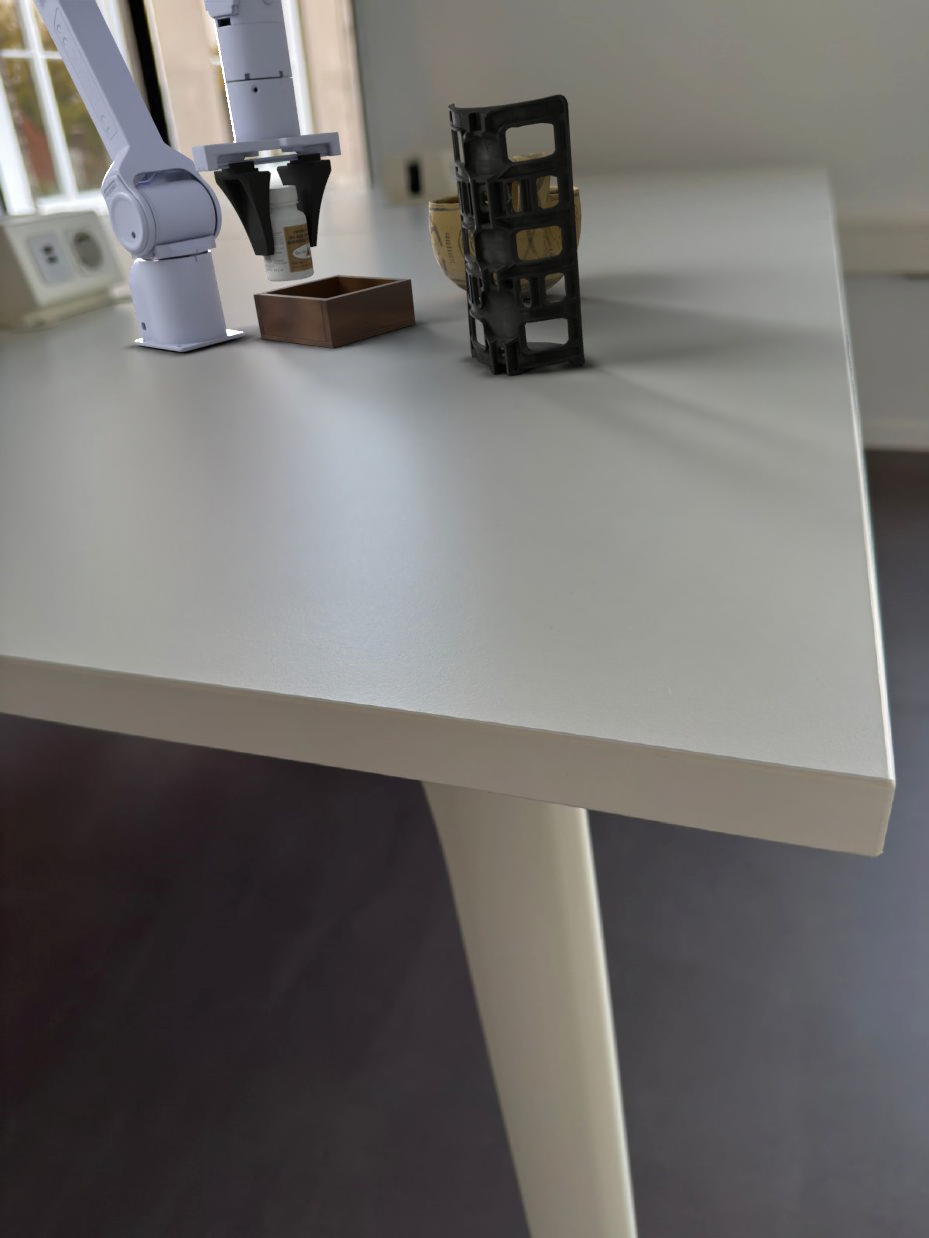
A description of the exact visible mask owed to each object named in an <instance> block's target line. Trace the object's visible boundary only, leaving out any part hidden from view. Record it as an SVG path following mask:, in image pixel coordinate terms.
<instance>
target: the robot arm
mask: <svg viewBox="0 0 929 1238" xmlns="http://www.w3.org/2000/svg"><path fill="white" fill-rule="evenodd" d="M32 1H33V3H34V5H35V7H36V9H37V11H38V14H39V15H40V17H41V19H42V21H43V23H44V25H45V27H46V30H47V32H48V33H49V36H50V37H51V40H52V42H53V43H54V45H55V48H56V50H57V52H58V53H59V56H60V58H61V61H62V62H63V64H64V66H65V68H66V71H67V73H68V74H69V76H70V78H71V80H72V82H73V84H74V86H75V88H76V91H77V92H78V94H79V96H80V99H81V100H82V103H83V104H84V106H85V108H86V111H87V112H88V114H89V117H90V118H91V121H92V123H93V124H94V125H93V126H94V127H95V128H96V131H97V134H98V135H99V137H100V139H101V141H102V143H103V146H104V147H105V150H106V151H107V153H108V156H109V157H110V160H111V162H112V164H111V165H110V167H109V169H108V170H107V172H106V174H105V175H104V177H103V180H102V183H101V187H100V193H101V195H102V197H103V200H104V202H105V204H106V207H107V211H108V215H109V221H110V222H109V223H110V225H111V228H112V231H113V233H114V235H115V237H116V239H117V240H118V242H119V243H120V244H121V246H122V247H123V248H124V249H125V250H126V251H127V252H128V253H130V256H131V258H132V259H133V260H134V259H135V260H134V262H133V264H132V265H131V267H130V270H129V273H128V287H129V291H130V296H131V300H132V305H133V307H134V308H133V309H134V312H135V316H136V320H137V324H138V329H139V334H140V338H139V339H135V340H134V344H135V346H141V347H148V348H154V349H161V350H166V351H167V350H168V351H173V352H180V353H184V352H189V351H193V350H196V349H197V350H198V349H200V348H204V347H207V346H211V345H215V344H218V343H223V342H228V341H231V340H235V339H238V338H241V337H245V331H242V330H235V329H227V325H226V324H227V323H226V320H225V315H224V309H223V305H222V300H221V293H220V289H219V284H218V280H217V279H218V278H217V274H216V269H215V264H214V258H213V254H212V250H213V249H216V248H217V243H216V239H217V238H218V237H219V235H220V233H221V231H222V230H221V229H222V224H223V223H222V222H223V215H222V214H223V213H222V208H221V203H220V201H219V199H218V196H217V194H216V192H215V190H214V189H213V187H212V186H211V185H210V184H209V183H208V182H207V181H206V180H205V179H204V178H203V177H202V175H201V174H200V173H201V172H213V175H214V181H215V184H216V185H217V186H218V187H219V189H220V190H221V191H222V192H223V194H224V196H225V197H226V198H227V200H228V201H229V203H230V204H231V207H233V209H234V211H235V213H236V214H237V216H238V218H239V220H240V222H241V224H242V226H243V228H244V231H245V233H246V236H247V238H248V240H249V243H250V245H251V248H252V250H253V252H254V255H255V256H260V257H261V256H262V257H263V256H270V255H274V238H273V232H272V225H271V218H270V202H269V194H270V187H271V179H272V178H271V177H272V172H270V170H260V169H259V167H256V166H259V165H268V164H274V163H275V164H276V163H284V162H287V163H286V164H284V165H278V166H277V167H276V169H275V170H276V172H277V174H278V177H279V179H280V181H281V184H282V186H286V185H294V186H296V191H297V197H298V199H297V201H298V203H297V204H296V206H297V210H299V211H301V212H303V213H304V214H305V216H306V221H307V228H308V235H309V242H310V248H314V247H318V236H319V223H320V213H321V208H322V202H323V199H324V193H325V189H326V187H327V184H328V182H329V178H330V175H331V173H332V170H333V169H332V162H331V159H330V158H328V159H322V158H323V157H325V158H326V157H336V156H341V155H342V151H341V143H340V136H339V132H338V131H334V132H333V131H332V132H322V133H321V132H320V133H312V134H311V133H309V134H302V135H301V128H300V120H299V114H298V107H297V99H296V92H295V86H294V78H293V71H292V65H291V58H290V50H289V44H288V38H287V30H286V24H285V16H284V10H283V3H282V0H203V2H204V8H205V9H204V10H205V11H206V12H208V16H209V17H210V18H211V19H213V22H214V23H213V24H214V28H215V29H214V30H215V34H216V40H217V46H218V51H219V52H218V53H219V57H220V63H221V68H222V74H223V81H224V83H225V84H224V85H225V92H226V97H227V103H228V108H229V115H230V120H231V125H232V132H233V137H234V141H232V142H222V143H213V144H205V145H204V144H203V145H194V146H191V153H192V158H190V157H188V156H186V155H185V154H183V153H181V152H180V151H178V150H176V149H175V148H173V147H171V146H170V145H168V144H167V143H165V141H163V140H164V139H163V138H162V136H161V134H160V132H159V130H158V128H157V125H156V124H155V122H154V119H153V118H152V115H151V113H150V111H149V109H148V107H147V105H146V103H145V100H144V99H143V96H142V95H141V92H140V91H139V88H138V86H137V84H136V82H135V80H134V78H133V76H132V73H131V72H130V69H129V68H128V65H127V63H126V62H125V59H124V56H123V54H122V53H121V51H120V49H119V47H118V44H117V43H116V40H115V37H114V36H113V34H112V32H111V29H110V28H109V26H108V24H107V22H106V19H105V18H104V15H103V13H102V11H101V9H100V7H99V5H98V3H97V1H96V0H32ZM273 150H275V151H276V150H280V151H281V153H282V154H281V155H273V156H265V157H259V156H260V153H259V152H263V151H264V152H265V151H273ZM283 153H290V154H283ZM254 157H256V158H254ZM246 158H248V159H246ZM192 159H193V160H192ZM211 249H212V250H211Z"/></svg>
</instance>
